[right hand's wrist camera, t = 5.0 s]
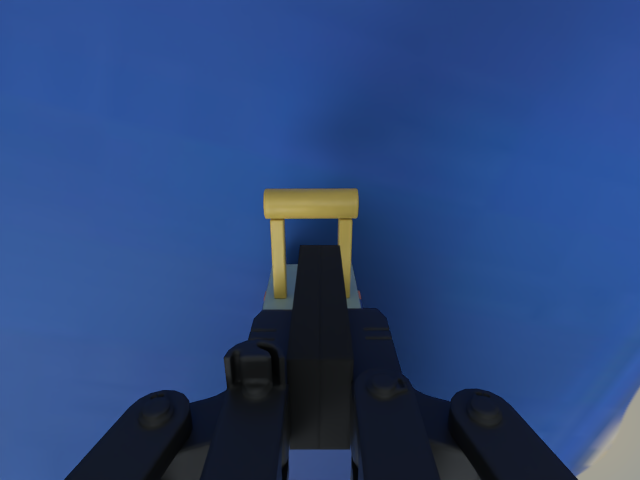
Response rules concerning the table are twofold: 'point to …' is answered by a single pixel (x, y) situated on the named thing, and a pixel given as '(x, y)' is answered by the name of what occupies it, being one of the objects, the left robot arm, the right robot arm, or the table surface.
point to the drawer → (307, 207)
